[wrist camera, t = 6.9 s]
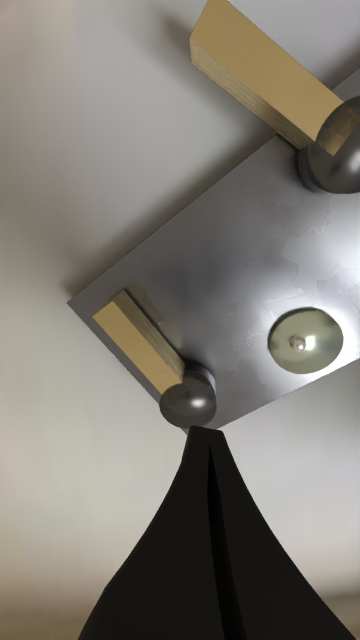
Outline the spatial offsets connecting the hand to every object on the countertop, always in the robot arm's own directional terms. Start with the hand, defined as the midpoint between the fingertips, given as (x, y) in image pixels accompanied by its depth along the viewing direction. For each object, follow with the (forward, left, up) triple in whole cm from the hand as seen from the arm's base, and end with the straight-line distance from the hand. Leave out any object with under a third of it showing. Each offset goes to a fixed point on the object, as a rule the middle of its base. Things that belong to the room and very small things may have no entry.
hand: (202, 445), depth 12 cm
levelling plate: (+1, -6, -9) cm, 11 cm away
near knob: (+9, -11, -8) cm, 16 cm away
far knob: (+2, +2, -8) cm, 8 cm away
